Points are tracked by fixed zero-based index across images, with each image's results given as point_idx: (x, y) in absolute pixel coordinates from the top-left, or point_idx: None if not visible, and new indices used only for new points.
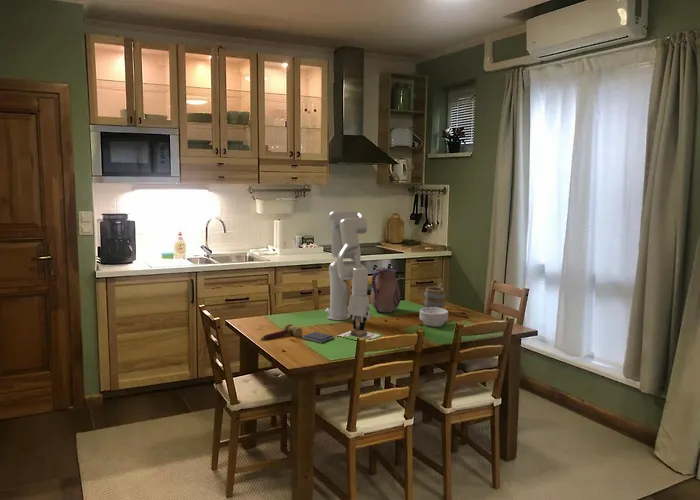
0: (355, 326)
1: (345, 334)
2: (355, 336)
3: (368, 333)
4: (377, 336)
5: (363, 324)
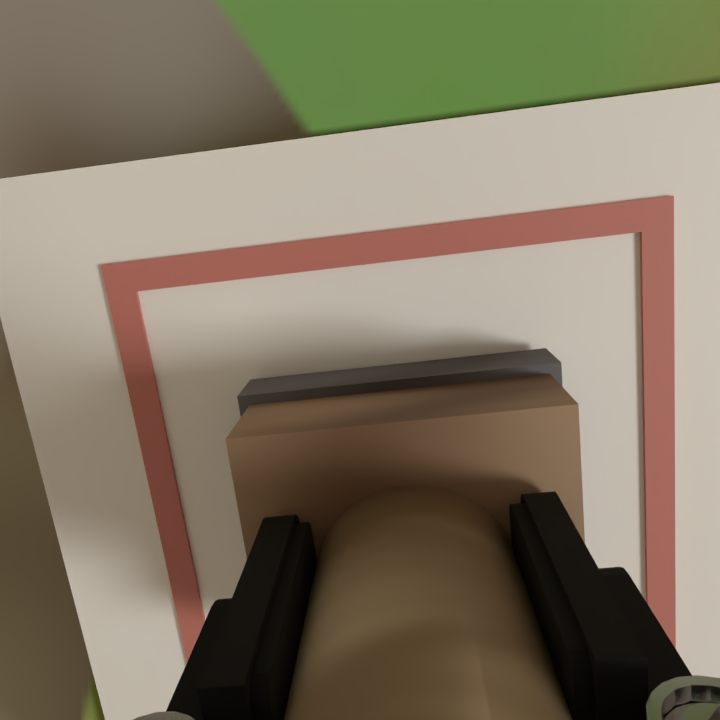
0: (506, 559)
1: (699, 335)
2: None
3: None
4: (100, 693)
5: (186, 703)
